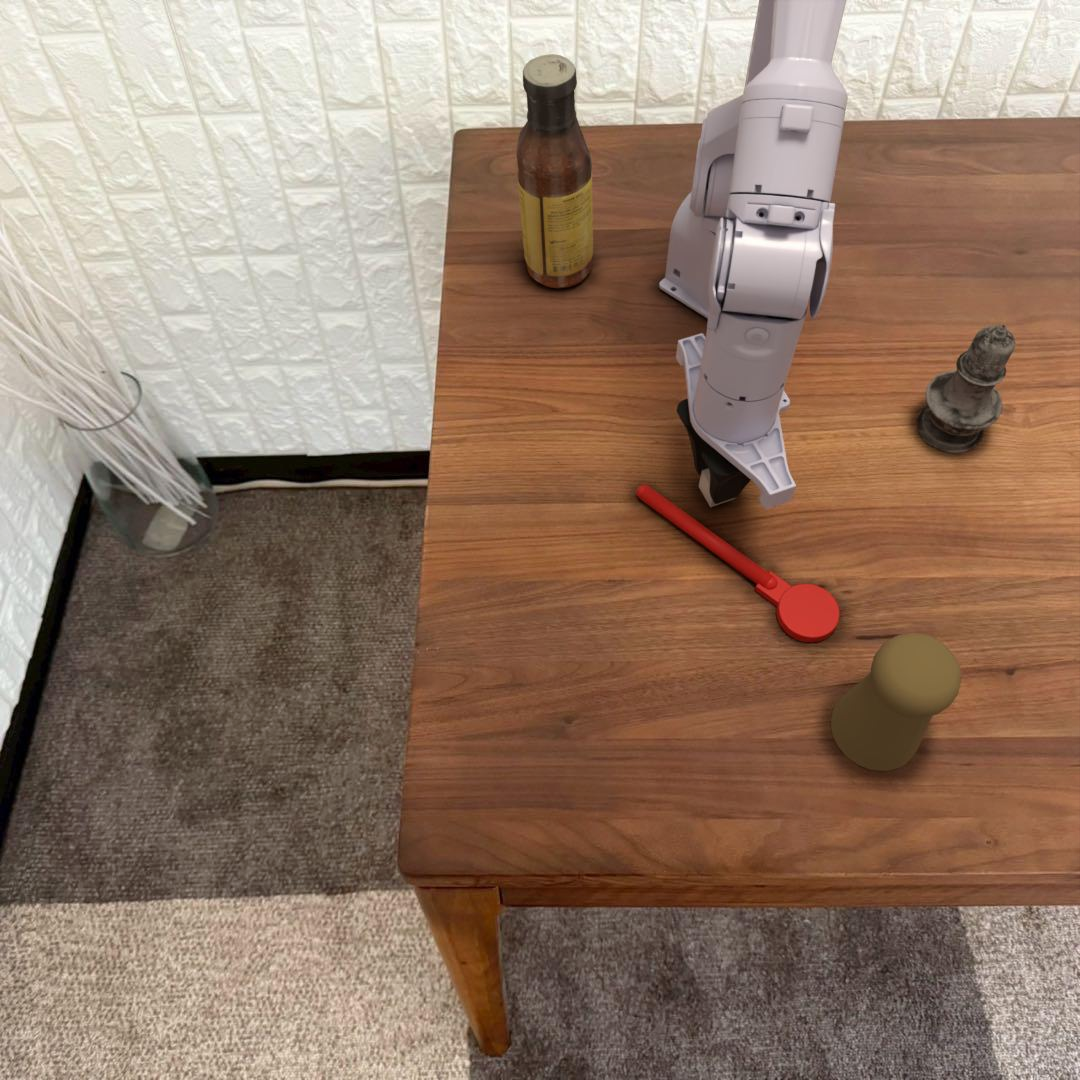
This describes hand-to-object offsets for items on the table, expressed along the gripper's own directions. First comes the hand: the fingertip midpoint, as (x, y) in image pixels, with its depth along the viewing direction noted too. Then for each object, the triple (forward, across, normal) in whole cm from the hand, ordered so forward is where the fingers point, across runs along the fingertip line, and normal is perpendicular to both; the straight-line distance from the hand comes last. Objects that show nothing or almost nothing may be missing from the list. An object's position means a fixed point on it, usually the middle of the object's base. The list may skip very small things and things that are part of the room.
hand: (717, 483), depth 78 cm
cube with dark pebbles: (+2, 0, 0) cm, 2 cm away
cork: (+2, -21, -2) cm, 22 cm away
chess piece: (+2, -1, -21) cm, 21 cm away
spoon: (+2, -6, +1) cm, 7 cm away
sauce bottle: (+2, +28, +2) cm, 28 cm away
